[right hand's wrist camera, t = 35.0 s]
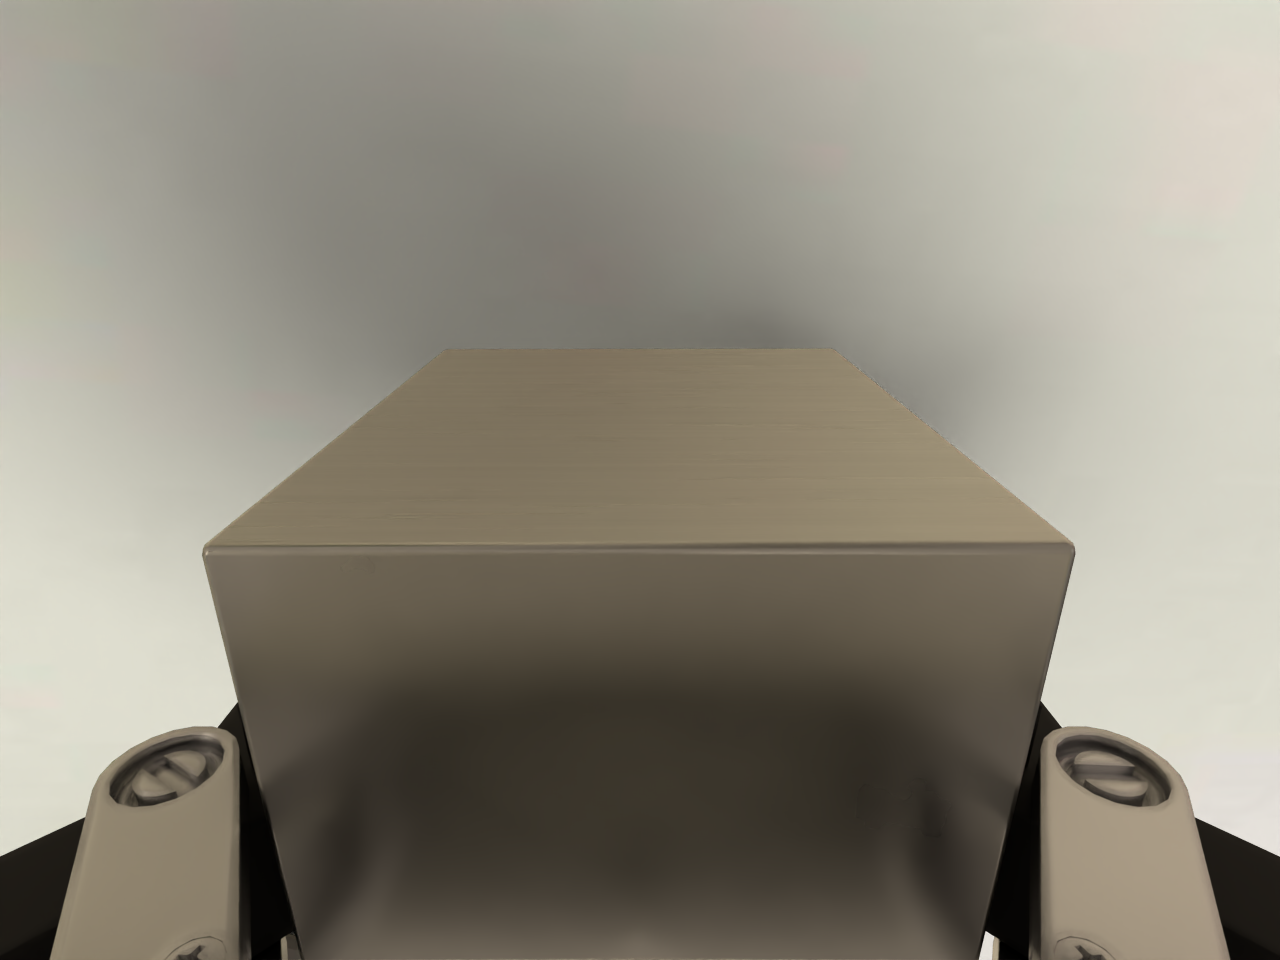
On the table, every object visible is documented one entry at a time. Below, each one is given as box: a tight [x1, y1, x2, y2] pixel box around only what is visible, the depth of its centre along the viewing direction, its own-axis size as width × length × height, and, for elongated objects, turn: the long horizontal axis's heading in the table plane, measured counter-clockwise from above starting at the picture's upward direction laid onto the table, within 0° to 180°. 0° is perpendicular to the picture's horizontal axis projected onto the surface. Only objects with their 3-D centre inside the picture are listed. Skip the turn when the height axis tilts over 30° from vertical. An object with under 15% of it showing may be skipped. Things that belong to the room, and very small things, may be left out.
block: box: [202, 349, 1075, 960], centre depth 11 cm, size 7×8×8 cm
